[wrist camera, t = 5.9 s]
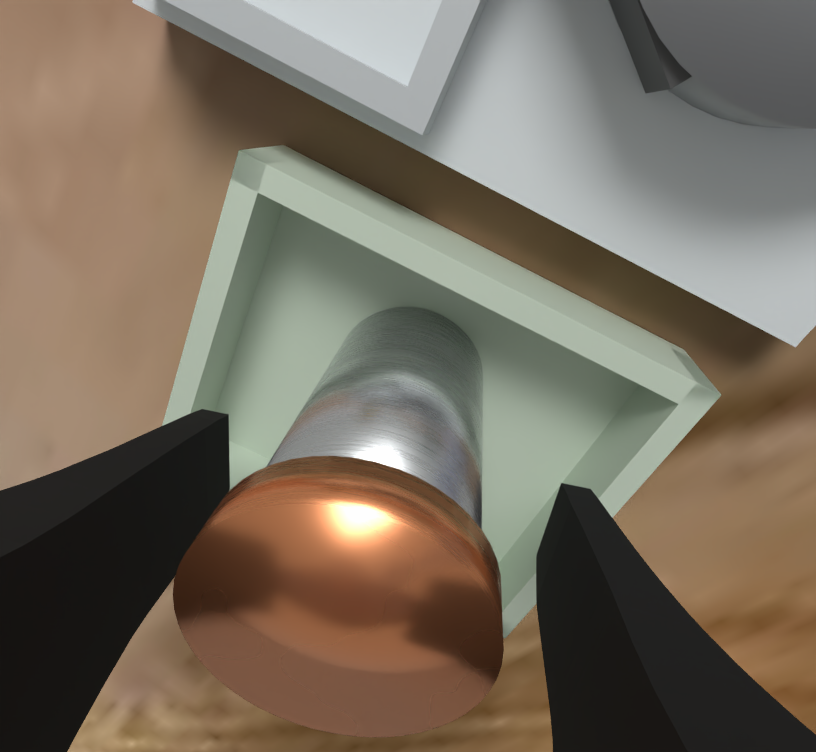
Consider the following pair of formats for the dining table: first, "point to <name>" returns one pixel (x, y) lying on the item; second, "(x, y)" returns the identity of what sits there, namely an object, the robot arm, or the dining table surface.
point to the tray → (450, 297)
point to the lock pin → (359, 546)
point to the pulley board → (585, 118)
